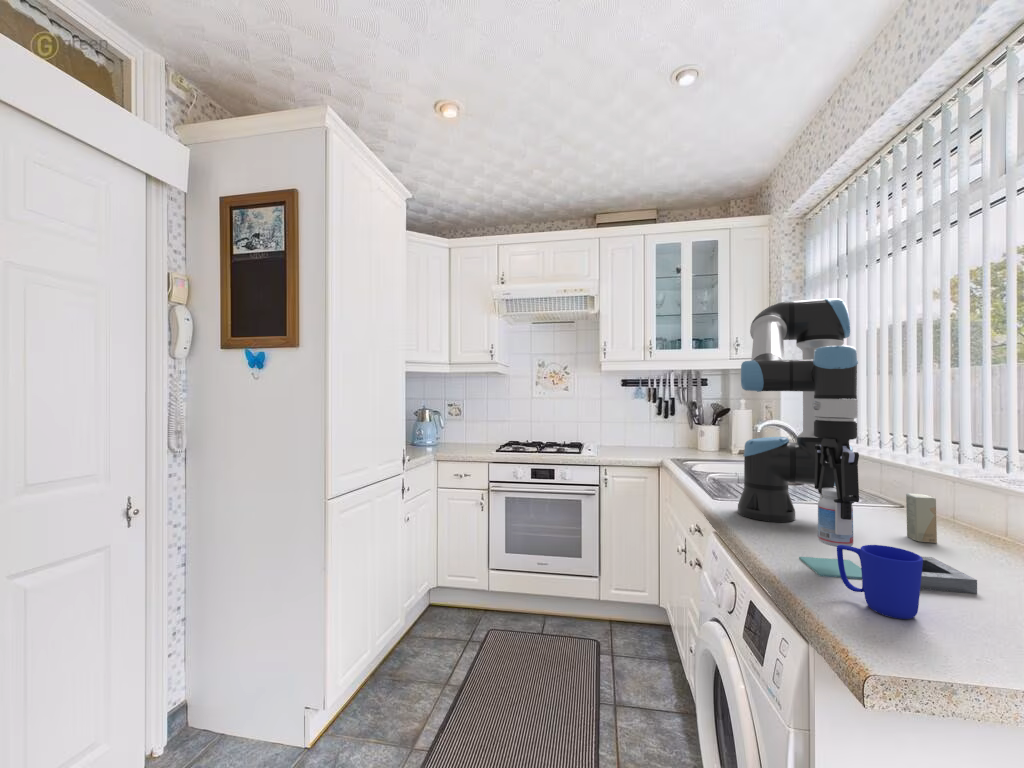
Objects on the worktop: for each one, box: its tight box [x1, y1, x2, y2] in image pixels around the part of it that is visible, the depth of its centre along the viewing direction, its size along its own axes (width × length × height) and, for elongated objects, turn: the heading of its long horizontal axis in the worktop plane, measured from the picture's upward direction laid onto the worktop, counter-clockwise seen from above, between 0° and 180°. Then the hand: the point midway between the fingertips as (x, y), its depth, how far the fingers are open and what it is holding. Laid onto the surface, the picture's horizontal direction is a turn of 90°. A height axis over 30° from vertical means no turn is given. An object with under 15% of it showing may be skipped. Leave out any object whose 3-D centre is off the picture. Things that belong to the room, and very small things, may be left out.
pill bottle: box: [817, 487, 854, 548], centre depth 97 cm, size 6×6×11 cm
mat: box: [798, 556, 862, 580], centre depth 97 cm, size 10×10×1 cm
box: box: [905, 492, 938, 544], centre depth 117 cm, size 5×4×11 cm
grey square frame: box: [920, 555, 978, 595], centre depth 93 cm, size 12×12×2 cm
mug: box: [836, 544, 923, 620], centre depth 80 cm, size 8×12×10 cm
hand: (835, 529), depth 97 cm, fingers closed on pill bottle, 6 cm apart
